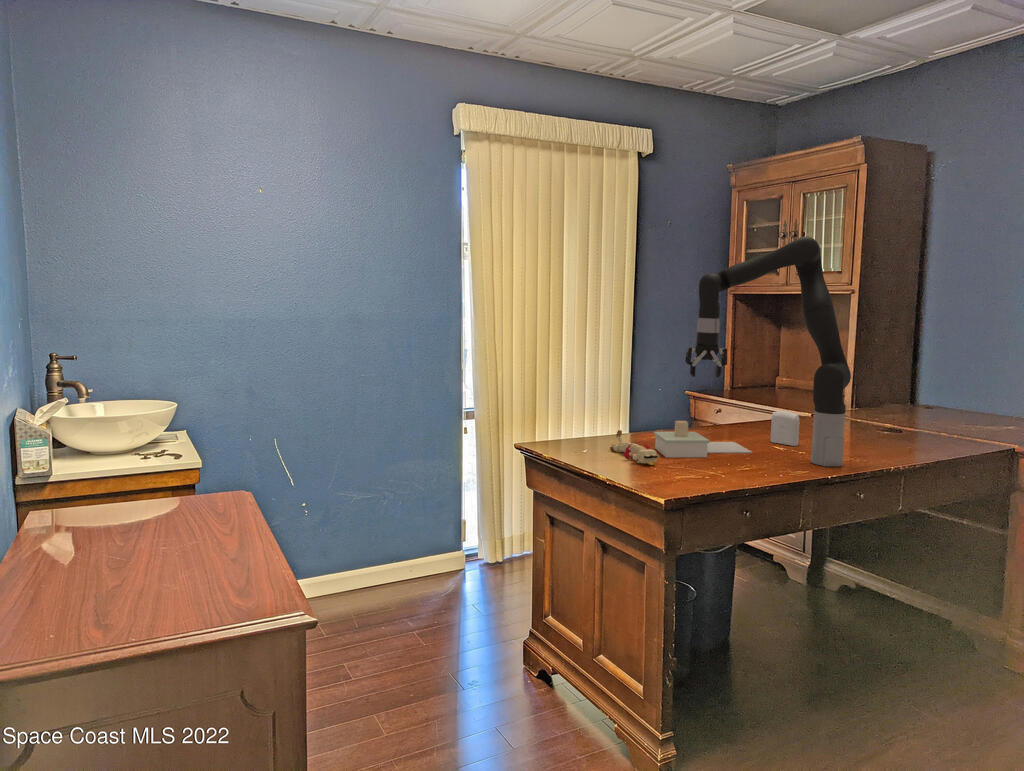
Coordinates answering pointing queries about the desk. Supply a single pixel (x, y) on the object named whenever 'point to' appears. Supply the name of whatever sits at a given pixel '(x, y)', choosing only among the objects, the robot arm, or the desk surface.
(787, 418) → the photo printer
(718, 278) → the robot arm
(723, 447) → the mat
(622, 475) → the desk surface
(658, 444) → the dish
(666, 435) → the lid
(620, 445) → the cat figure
